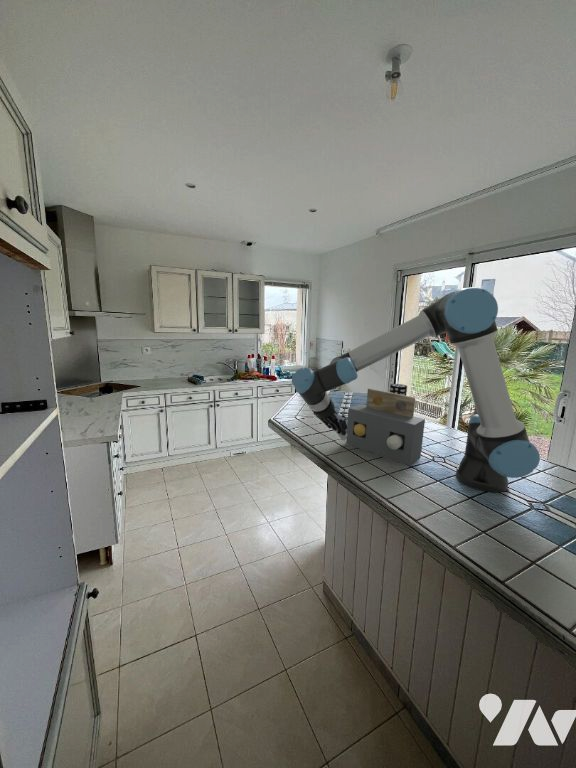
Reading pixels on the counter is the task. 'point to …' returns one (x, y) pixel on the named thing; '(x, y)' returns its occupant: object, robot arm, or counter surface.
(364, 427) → the button ochre
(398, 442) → the button ivory
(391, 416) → the console
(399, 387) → the black white block
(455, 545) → the counter surface
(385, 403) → the placard
